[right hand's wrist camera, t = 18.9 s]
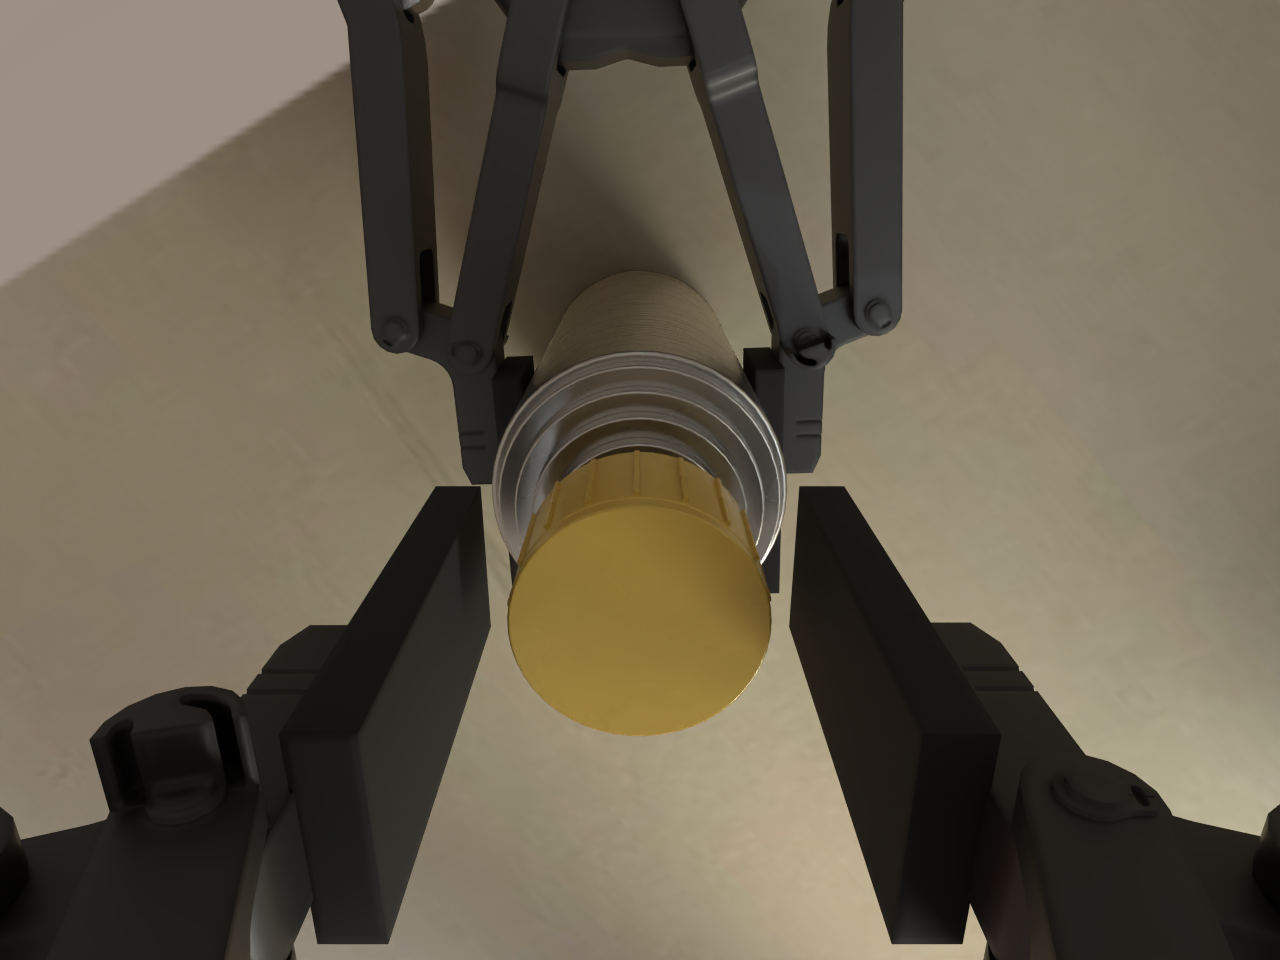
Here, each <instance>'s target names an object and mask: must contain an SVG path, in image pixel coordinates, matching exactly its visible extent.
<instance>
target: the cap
mask: <svg viewBox="0 0 1280 960" xmlns="http://www.w3.org/2000/svg"><path fill="white" fill-rule="evenodd" d="M517 564H518V565H519V566H518V569H517V573H516V576H515V579H514V582H513V586H512V589H511V592H510V596H509V599H508V606H509V607H508V616H507V620H508V634H509V639H510V644H511V649H512V651H513V654H514V657H515V660H516V662H517V664H518V666H519V668H520V670H521V672H522V674H523V675H524V677H525V678H526V680H527V681H528V683H529V684H530V685H531V687H532V688H533V689H534V690H535V691H536V692H537V693H538V695H539V696H540V697H541V698H542V699H543V700H544V701H546V702H547V703H548V704H549V705H550V706H552V707H553V708H554V709H555V710H557V711H558V712H560V713H562V714H563V715H565V716H566V717H568V718H570V719H572V720H574V721H576V722H578V723H580V724H582V725H585V726H587V727H590V728H593V729H596V730H599V731H604V732H608V733H612V734H619V735H628V736H650V735H660V734H666V733H671V732H676V731H680V730H683V729H686V728H689V727H692V726H694V725H697V724H699V723H701V722H703V721H705V720H707V719H709V718H711V717H712V716H714V715H716V714H717V713H719V712H721V711H722V710H723V709H725V708H726V707H727V706H728V705H730V704H731V703H732V702H734V700H735V699H736V698H737V697H738V696H739V695H740V694H741V693H742V692H743V691H744V690H745V689H746V688H747V686H748V685H749V684H750V682H751V681H752V680H753V678H754V677H755V675H756V673H757V671H758V670H759V668H760V666H761V664H762V662H763V659H764V656H765V654H766V651H767V648H768V643H769V639H770V633H771V607H770V601H771V596H770V592H769V589H768V586H767V582H766V579H765V576H764V572H763V569H762V566H761V563H760V557H759V554H758V550H757V547H756V544H755V540H754V537H753V534H752V531H751V527H750V524H749V521H748V517H747V514H746V512H745V510H744V509H743V510H741V509H740V507H739V506H738V504H737V502H736V501H735V499H734V498H733V497H732V495H731V494H730V493H729V492H728V490H727V489H726V488H725V487H724V486H723V485H722V483H721V480H720V479H719V478H718V477H717V478H716V479H715V478H714V477H712V476H711V475H710V474H708V473H707V472H706V471H704V470H702V469H701V468H699V467H697V466H695V465H693V464H691V463H689V462H686V461H684V459H683V458H682V457H678V458H675V457H672V456H668V455H664V454H657V453H650V452H640V451H639V450H635V451H634V452H630V453H621V454H615V455H611V456H607V457H603V458H600V459H598V460H596V459H595V458H594V459H592V460H591V462H590V463H588V464H586V465H584V466H582V467H580V468H578V469H576V470H575V471H573V472H572V473H571V474H569V475H568V476H566V477H565V478H564V479H563V480H562V481H561V482H559V481H557V482H556V483H555V484H554V488H553V489H552V491H551V492H550V493H549V494H548V495H547V497H546V498H545V499H544V501H543V502H542V504H541V506H540V507H539V509H538V511H537V513H536V514H534V513H533V514H532V516H531V518H530V522H529V525H528V528H527V531H526V535H525V538H524V541H523V544H522V548H521V551H520V554H519V557H518V560H517Z"/></svg>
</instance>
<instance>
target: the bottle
mask: <svg viewBox="0 0 1280 960" xmlns="http://www.w3.org/2000/svg"><path fill="white" fill-rule="evenodd" d="M635 450H639V451H640V452H650V453H657V454H664V455H668V456H672V457H675V458H678V457H682V458H683V459H684V461H686V462H689V463H691V464H693V465H695V466H697V467H699V468H701V469H702V470H704V471H706V472H707V473H708V474H710V475H711V476H712V477H714V478H715V479H716V478H717V477H718V478H719V479H720V480H721V483H722V485H723V486H724V487H725V488H726V489H727V490H728V492H729V493H730V494H731V495H732V497H733V498H734V499H735V501H736V502H737V504H738V506H739V507H740V509H741V510H743V509H744V510H745V512H746V514H747V517H748V521H749V524H750V527H751V531H752V534H753V537H754V540H755V544H756V547H757V550H758V554H759V557H760V563H761V565H762V563H763V562H764V561H765V559H766V558H767V556H768V554H769V552H770V551H771V549H772V547H773V545H774V543H775V541H776V538H777V536H778V533H779V531H780V528H781V525H782V521H783V517H784V513H785V508H786V498H787V474H786V468H785V463H784V457H783V454H782V451H781V448H780V445H779V441H778V439H777V437H776V435H775V433H774V430H773V428H772V426H771V424H770V422H769V420H768V418H767V416H766V414H765V412H764V410H763V408H762V406H761V404H760V402H759V400H758V398H757V397H756V395H755V393H754V391H753V389H752V387H751V385H750V383H749V381H748V379H747V377H746V375H745V373H744V371H743V369H742V367H741V365H740V363H739V361H738V359H737V357H736V355H735V353H734V351H733V349H732V347H731V345H730V343H729V341H728V339H727V337H726V335H725V333H724V331H723V329H722V327H721V325H720V323H719V321H718V319H717V317H716V315H715V313H714V312H713V310H712V309H711V307H710V306H709V304H708V303H707V302H706V301H705V300H704V299H703V297H702V296H701V295H700V294H698V293H697V292H696V291H695V290H694V289H693V288H691V287H690V286H688V285H687V284H685V283H684V282H682V281H680V280H678V279H676V278H673V277H671V276H668V275H665V274H662V273H657V272H651V271H629V272H623V273H618V274H614V275H612V276H609V277H606V278H604V279H602V280H600V281H598V282H596V283H594V284H593V285H591V286H590V287H589V288H587V289H586V290H584V291H583V292H582V293H581V294H580V295H579V296H578V297H577V298H576V299H575V300H574V301H573V303H572V304H571V305H570V307H569V308H568V309H567V311H566V313H565V314H564V316H563V318H562V320H561V322H560V324H559V326H558V328H557V330H556V332H555V334H554V336H553V338H552V339H551V341H550V343H549V345H548V347H547V349H546V351H545V353H544V355H543V357H542V359H541V361H540V363H539V365H538V367H537V369H536V371H535V373H534V375H533V377H532V379H531V381H530V383H529V385H528V387H527V389H526V391H525V393H524V395H523V397H522V399H521V401H520V403H519V405H518V406H517V408H516V410H515V412H514V414H513V416H512V418H511V420H510V422H509V424H508V426H507V428H506V430H505V433H504V435H503V437H502V440H501V442H500V445H499V447H498V451H497V455H496V459H495V463H494V470H493V479H492V497H493V505H494V511H495V517H496V521H497V524H498V527H499V530H500V533H501V536H502V538H503V540H504V542H505V544H506V546H507V549H508V551H509V552H510V554H511V555H512V557H513V558H514V560H515V561H516V563H517V560H518V557H519V554H520V551H521V548H522V544H523V541H524V538H525V535H526V531H527V528H528V525H529V522H530V518H531V516H532V514H533V513H534V514H536V513H537V511H538V509H539V507H540V506H541V504H542V502H543V501H544V499H545V498H546V497H547V495H548V494H549V493H550V492H551V491H552V489H553V488H554V484H555V483H556V482H557V481H559V482H561V481H562V480H563V479H564V478H565V477H566V476H568V475H569V474H571V473H572V472H573V471H575V470H576V469H578V468H580V467H582V466H584V465H586V464H588V463H590V462H591V460H592V459H594V458H595V459H596V460H598V459H600V458H603V457H607V456H611V455H615V454H621V453H630V452H634V451H635ZM517 565H518V564H517ZM518 566H519V565H518Z"/></svg>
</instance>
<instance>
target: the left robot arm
mask: <svg viewBox="0 0 1280 960" xmlns="http://www.w3.org/2000/svg"><path fill="white" fill-rule="evenodd" d="M433 1H434V0H338V3H339V5H340V8H341V10H342V13H343V15H344V18H345V20H346V23H347V26H348V39H349V52H350V64H351V77H352V90H353V103H354V115H355V128H356V141H357V153H358V166H359V179H360V191H361V204H362V217H363V229H364V242H365V255H366V267H367V280H368V293H369V305H370V318H371V330H372V333H373V337H374V339H375V341H376V342H377V343H378V345H379V346H380V347H381V348H383V349H384V350H386V351H387V352H392V353H396V354H398V353H404V352H408V353H412V354H415V355H418V356H421V357H424V358H428V359H431V360H433V361H435V362H437V363H439V364H440V365H441V366H443V367H444V368H445V370H446V371H447V372H448V373H449V375H450V377H451V379H452V383H453V389H454V397H455V405H456V414H457V422H458V431H459V439H460V446H461V456H462V465H463V469H464V471H465V473H466V475H467V476H468V478H469V480H470V482H471V484H472V485H477V484H492V479H493V470H494V463H495V459H496V455H497V451H498V447H499V445H500V442H501V440H502V437H503V435H504V433H505V430H506V428H507V426H508V424H509V422H510V420H511V418H512V416H513V414H514V412H515V410H516V408H517V406H518V405H519V403H520V401H521V399H522V397H523V395H524V393H525V391H526V389H527V387H528V385H529V383H530V381H531V379H532V377H533V375H534V362H533V356H514V357H507V358H506V359H505V356H504V345H505V344H506V342H507V340H508V337H509V336H508V335H507V331H508V327H509V323H510V318H511V314H512V309H513V305H514V300H515V296H516V292H517V287H518V283H519V278H520V274H521V269H522V265H523V261H524V256H525V252H526V247H527V243H528V239H529V234H530V230H531V225H532V221H533V216H534V212H535V208H536V203H537V199H538V194H539V190H540V185H541V181H542V177H543V172H544V168H545V163H546V159H547V155H548V150H549V146H550V141H551V137H552V132H553V128H554V124H555V119H556V115H557V112H558V109H559V107H560V104H561V101H562V97H563V93H564V88H565V84H566V80H567V75H568V71H569V70H589V69H598V68H601V67H604V66H607V65H610V64H613V63H616V62H619V61H622V60H625V59H630V60H634V61H638V62H642V63H646V64H650V65H654V66H658V67H663V66H687V68H688V71H689V75H690V78H691V81H692V84H693V88H694V91H695V94H696V96H697V99H698V102H699V104H700V106H701V109H702V112H703V115H704V118H705V121H706V124H707V128H708V131H709V134H710V137H711V141H712V144H713V147H714V150H715V154H716V157H717V160H718V163H719V167H720V170H721V173H722V176H723V180H724V183H725V186H726V189H727V193H728V196H729V199H730V202H731V206H732V209H733V212H734V215H735V219H736V222H737V225H738V228H739V232H740V235H741V238H742V241H743V245H744V248H745V251H746V254H747V258H748V261H749V264H750V267H751V271H752V274H753V277H754V280H755V284H756V287H757V290H758V293H759V297H760V300H761V303H762V306H763V310H764V313H765V316H766V319H767V323H768V326H769V329H770V332H771V334H772V343H771V349H770V347H764V348H743V371H744V373H745V375H746V377H747V379H748V381H749V383H750V385H751V387H752V389H753V391H754V393H755V395H756V397H757V398H758V400H759V402H760V404H761V406H762V408H763V410H764V412H765V414H766V416H767V418H768V420H769V422H770V424H771V426H772V428H773V430H774V433H775V435H776V437H777V439H778V441H779V445H780V448H781V451H782V454H783V457H784V463H785V468H786V474H787V473H813V471H814V469H815V466H816V464H817V462H818V460H819V458H820V456H821V433H822V411H823V387H824V371H825V365H827V364H828V363H829V361H830V360H831V359H832V358H833V356H834V353H835V350H836V349H838V348H839V347H841V346H843V345H845V344H847V343H849V342H852V341H855V340H857V339H860V338H862V337H865V336H867V335H872V336H880V335H883V334H887V333H888V332H890V331H891V330H892V329H894V328H895V327H896V325H897V323H898V322H899V320H900V317H901V312H902V153H903V1H904V0H832V2H831V6H830V14H829V21H828V36H827V61H828V100H829V139H830V178H831V218H832V257H833V289H830V290H828V291H825V292H823V293H820V294H818V292H817V288H816V285H815V281H814V278H813V274H812V271H811V267H810V264H809V260H808V256H807V253H806V249H805V246H804V242H803V239H802V235H801V232H800V228H799V225H798V221H797V218H796V214H795V210H794V207H793V203H792V200H791V196H790V193H789V189H788V186H787V182H786V179H785V175H784V172H783V168H782V164H781V161H780V157H779V154H778V150H777V147H776V143H775V140H774V136H773V133H772V129H771V126H770V122H769V118H768V115H767V111H766V108H765V104H764V101H763V97H762V94H761V90H760V86H759V82H758V72H757V66H756V61H755V57H754V53H753V49H752V46H751V42H750V39H749V35H748V31H747V28H746V24H745V21H744V17H743V14H742V10H741V9H742V8H743V6H744V5H745V3H746V1H747V0H495V2H496V3H497V4H498V6H499V7H500V9H501V10H502V11H503V13H504V14H505V15H506V17H507V22H506V27H505V32H504V37H503V42H502V47H501V52H500V57H499V63H498V68H497V76H496V97H495V102H494V107H493V112H492V117H491V122H490V127H489V132H488V137H487V142H486V147H485V152H484V157H483V162H482V167H481V172H480V177H479V182H478V187H477V192H476V197H475V202H474V207H473V212H472V217H471V222H470V227H469V232H468V237H467V242H466V247H465V252H464V256H463V261H462V266H461V271H460V276H459V281H458V286H457V291H456V296H455V301H454V306H453V307H450V306H447V305H444V304H441V303H439V285H438V265H437V245H436V224H435V204H434V184H433V163H432V143H431V123H430V103H429V82H428V63H427V53H426V43H425V39H424V34H423V29H422V24H421V20H420V17H419V14H420V13H422V12H424V11H426V10H427V9H428V8H429V7H430V6H431V5H432V4H433ZM780 539H781V528H780V531H779V533H778V536H777V538H776V541H775V543H774V545H773V547H772V549H771V551H770V552H769V554H768V556H767V558H766V559H765V561H764V562H763V563H762V565H761V566H762V569H763V572H764V576H765V579H766V582H767V586H768V589H769V592H770V593H779V578H780ZM509 558H510V568H511V578H512V586H513V582H514V579H515V576H516V573H517V569H518V565H517V563H516V561H515V560H514V558H513V557H512V555H511V554H510V552H509Z"/></svg>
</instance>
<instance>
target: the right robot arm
mask: <svg viewBox="0 0 1280 960" xmlns="http://www.w3.org/2000/svg"><path fill="white" fill-rule="evenodd" d="M490 627H491V623H490V609H489V596H488V582H487V568H486V555H485V541H484V527H483V513H482V500H481V486H436V487H435V489H434V490H433V492H432V493H431V495H430V496H429V498H428V500H427V501H426V503H425V504H424V506H423V507H422V509H421V511H420V512H419V514H418V515H417V517H416V518H415V520H414V522H413V523H412V525H411V526H410V528H409V529H408V531H407V533H406V534H405V536H404V537H403V539H402V541H401V542H400V544H399V545H398V547H397V548H396V550H395V552H394V553H393V555H392V556H391V558H390V559H389V561H388V563H387V564H386V566H385V567H384V569H383V570H382V572H381V574H380V575H379V577H378V578H377V580H376V581H375V583H374V585H373V586H372V588H371V589H370V591H369V592H368V594H367V596H366V597H365V599H364V600H363V602H362V604H361V605H360V607H359V608H358V610H357V611H356V613H355V615H354V616H353V618H352V619H351V621H350V622H349V624H348V625H310V626H308V627H307V628H305V629H304V630H302V631H301V632H299V633H298V634H296V635H295V636H293V637H292V638H290V639H289V640H287V641H286V642H284V643H283V644H281V645H280V646H279V647H278V648H277V650H276V651H275V652H274V654H273V655H272V656H271V658H270V659H269V660H268V662H267V663H266V664H265V666H264V667H263V668H262V674H258V675H257V676H256V678H255V679H254V680H253V682H252V683H251V684H250V686H249V687H248V688H247V694H243V695H242V696H241V697H239V696H238V695H237V694H236V693H234V692H233V691H231V690H227V689H222V688H218V687H214V686H202V687H184V688H180V689H176V690H171V691H167V692H163V693H159V694H155V695H153V696H150V697H148V698H146V699H143V700H141V701H139V702H136V703H134V704H132V705H129V706H127V707H126V708H124V709H123V710H121V711H120V712H118V713H117V714H115V715H114V716H112V717H111V718H109V719H108V720H106V721H105V722H104V723H103V724H102V725H101V726H100V728H99V729H98V730H97V731H96V732H95V734H94V735H93V736H92V737H91V738H90V744H91V747H92V751H93V754H94V758H95V761H96V765H97V768H98V772H99V775H100V779H101V782H102V786H103V789H104V793H105V796H106V800H107V803H108V807H109V810H110V812H109V815H108V817H107V819H106V820H104V821H100V822H97V823H93V824H90V825H86V826H81V827H77V828H72V829H68V830H63V831H58V832H54V833H49V834H45V835H40V836H36V837H31V838H27V839H22V840H20V837H19V834H18V831H17V828H16V825H15V822H14V819H13V817H12V816H11V815H10V814H8V813H7V812H6V811H5V810H3V809H2V808H1V807H0V960H297V959H296V954H295V949H294V942H295V940H296V937H297V935H298V933H299V931H300V928H301V926H302V924H303V922H304V919H305V917H306V915H307V913H308V910H309V908H310V906H311V911H312V917H313V922H314V928H315V933H316V938H317V944H388V943H389V940H390V937H391V934H392V931H393V927H394V924H395V921H396V918H397V915H398V912H399V909H400V906H401V903H402V900H403V896H404V893H405V890H406V887H407V884H408V881H409V878H410V875H411V872H412V869H413V866H414V862H415V859H416V856H417V853H418V850H419V847H420V844H421V841H422V838H423V835H424V832H425V828H426V825H427V822H428V819H429V816H430V813H431V810H432V807H433V804H434V801H435V798H436V794H437V791H438V788H439V785H440V782H441V779H442V776H443V773H444V770H445V767H446V763H447V760H448V757H449V754H450V751H451V748H452V745H453V742H454V739H455V736H456V733H457V729H458V726H459V723H460V720H461V717H462V714H463V711H464V708H465V705H466V702H467V699H468V695H469V692H470V689H471V686H472V683H473V680H474V677H475V674H476V671H477V668H478V664H479V661H480V658H481V655H482V652H483V649H484V646H485V643H486V640H487V637H488V634H489V630H490ZM789 627H790V630H791V634H792V637H793V640H794V643H795V646H796V649H797V652H798V655H799V658H800V661H801V664H802V668H803V671H804V674H805V677H806V680H807V683H808V686H809V689H810V692H811V695H812V698H813V702H814V705H815V708H816V711H817V714H818V717H819V720H820V723H821V726H822V729H823V733H824V736H825V739H826V742H827V745H828V748H829V751H830V754H831V757H832V760H833V763H834V767H835V770H836V773H837V776H838V779H839V782H840V785H841V788H842V791H843V794H844V797H845V801H846V804H847V807H848V810H849V813H850V816H851V819H852V822H853V825H854V828H855V832H856V835H857V838H858V841H859V844H860V847H861V850H862V853H863V856H864V859H865V862H866V866H867V869H868V872H869V875H870V878H871V881H872V884H873V887H874V890H875V893H876V896H877V900H878V903H879V906H880V909H881V912H882V915H883V918H884V921H885V924H886V927H887V930H888V934H889V937H890V940H891V943H892V944H963V938H964V933H965V928H966V922H967V917H968V911H969V906H970V904H971V906H972V908H973V911H974V913H975V915H976V917H977V920H978V922H979V924H980V926H981V928H982V931H983V933H984V935H985V937H986V940H987V944H986V949H985V954H984V959H983V960H1280V805H1278V806H1277V807H1276V808H1275V809H1273V810H1272V811H1271V812H1270V813H1268V816H1267V819H1266V822H1265V825H1264V828H1263V831H1262V834H1261V836H1256V835H1252V834H1247V833H1243V832H1238V831H1234V830H1229V829H1225V828H1220V827H1215V826H1211V825H1206V824H1202V823H1197V822H1193V821H1189V820H1186V819H1182V818H1179V817H1175V816H1173V815H1172V813H1171V811H1170V809H1169V808H1168V807H1167V805H1166V804H1165V802H1164V801H1163V800H1162V798H1161V797H1160V795H1159V794H1158V793H1157V791H1155V790H1154V789H1153V788H1152V787H1150V786H1149V785H1148V784H1146V783H1145V782H1144V781H1143V780H1141V779H1140V778H1139V777H1137V776H1136V775H1135V774H1133V773H1131V772H1129V771H1127V770H1125V769H1123V768H1121V767H1119V766H1117V765H1115V764H1112V763H1110V762H1108V761H1105V760H1101V759H1098V758H1094V757H1090V756H1087V755H1085V754H1084V752H1083V751H1082V750H1081V748H1080V747H1079V746H1078V744H1077V743H1076V742H1075V740H1074V739H1073V738H1072V736H1071V735H1070V734H1069V732H1068V731H1067V730H1066V728H1065V727H1064V726H1063V725H1062V723H1061V722H1060V721H1059V719H1058V718H1057V717H1056V715H1055V714H1054V713H1053V711H1052V710H1051V709H1050V707H1049V706H1048V705H1047V703H1046V702H1045V701H1044V699H1043V698H1042V697H1041V695H1040V694H1039V693H1038V691H1034V686H1033V685H1032V683H1031V682H1030V681H1029V679H1028V678H1027V677H1026V675H1025V674H1024V673H1023V672H1022V671H1019V666H1018V665H1017V664H1016V662H1015V661H1014V660H1013V658H1012V657H1011V656H1010V654H1009V653H1008V652H1007V650H1006V649H1005V648H1004V646H1003V645H1002V644H1001V643H1000V642H999V641H997V640H996V639H994V638H993V637H991V636H990V635H988V634H987V633H985V632H984V631H982V630H981V629H979V628H978V627H976V626H975V625H973V624H972V623H931V622H930V621H929V619H928V618H927V616H926V615H925V613H924V611H923V610H922V608H921V607H920V605H919V603H918V602H917V600H916V599H915V597H914V596H913V594H912V592H911V591H910V589H909V588H908V586H907V585H906V583H905V581H904V580H903V578H902V577H901V575H900V574H899V572H898V570H897V569H896V567H895V566H894V564H893V563H892V561H891V559H890V558H889V556H888V555H887V553H886V552H885V550H884V548H883V547H882V545H881V544H880V542H879V540H878V539H877V537H876V536H875V534H874V533H873V531H872V529H871V528H870V526H869V525H868V523H867V522H866V520H865V518H864V517H863V515H862V514H861V512H860V511H859V509H858V507H857V506H856V504H855V503H854V501H853V500H852V498H851V496H850V495H849V493H848V492H847V490H846V489H845V487H844V486H799V500H798V514H797V527H796V541H795V555H794V568H793V582H792V596H791V609H790V623H789Z"/></svg>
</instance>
